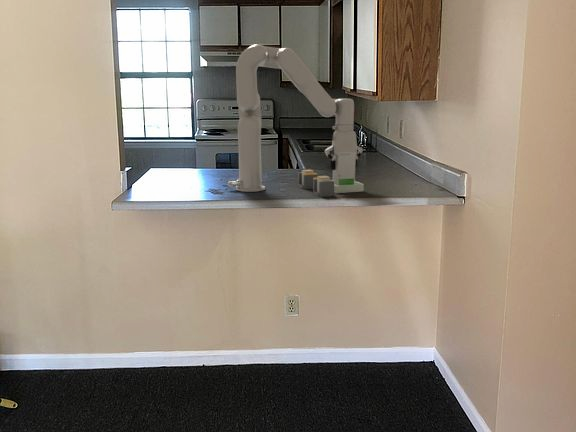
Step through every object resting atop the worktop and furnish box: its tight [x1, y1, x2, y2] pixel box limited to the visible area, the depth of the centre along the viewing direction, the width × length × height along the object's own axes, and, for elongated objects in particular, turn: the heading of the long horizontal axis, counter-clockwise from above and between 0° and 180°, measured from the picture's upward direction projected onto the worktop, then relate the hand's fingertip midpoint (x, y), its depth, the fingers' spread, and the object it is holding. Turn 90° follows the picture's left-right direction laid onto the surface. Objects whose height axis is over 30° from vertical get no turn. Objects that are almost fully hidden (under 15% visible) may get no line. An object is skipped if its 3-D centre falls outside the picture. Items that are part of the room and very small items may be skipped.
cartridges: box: [301, 169, 331, 193], centre depth 259 cm, size 4×22×7 cm, turn 19°
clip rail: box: [297, 172, 335, 198], centre depth 259 cm, size 7×26×6 cm, turn 19°
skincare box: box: [332, 152, 356, 186], centre depth 261 cm, size 8×7×16 cm
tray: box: [330, 179, 365, 194], centre depth 262 cm, size 13×14×3 cm
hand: (343, 169), depth 261 cm, fingers open, 9 cm apart
